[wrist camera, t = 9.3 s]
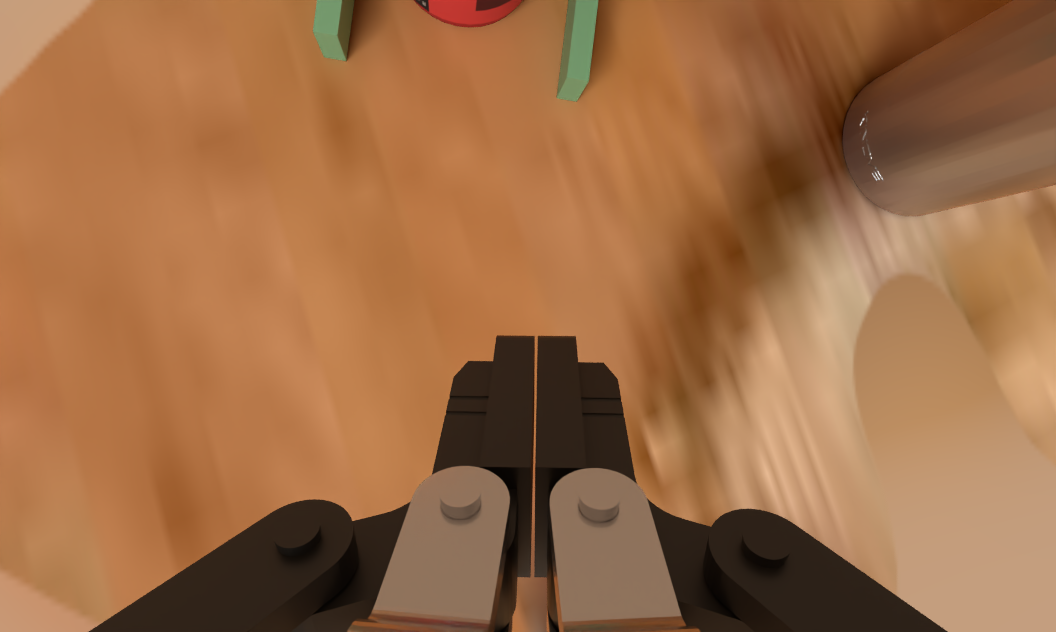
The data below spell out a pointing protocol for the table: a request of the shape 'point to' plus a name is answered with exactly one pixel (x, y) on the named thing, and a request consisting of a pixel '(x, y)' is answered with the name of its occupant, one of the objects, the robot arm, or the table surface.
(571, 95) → the green u-shaped frame
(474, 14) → the canned food
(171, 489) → the table surface
